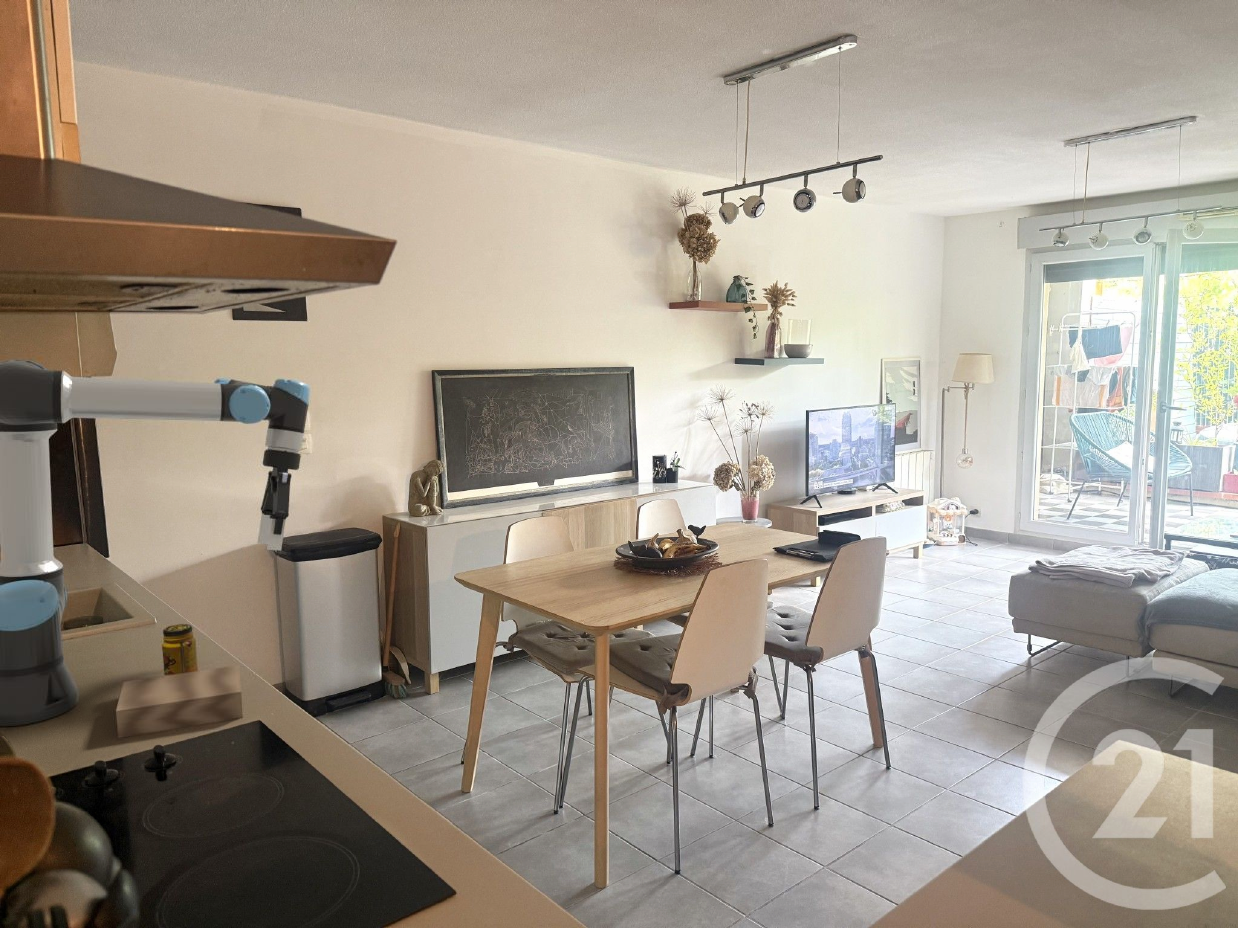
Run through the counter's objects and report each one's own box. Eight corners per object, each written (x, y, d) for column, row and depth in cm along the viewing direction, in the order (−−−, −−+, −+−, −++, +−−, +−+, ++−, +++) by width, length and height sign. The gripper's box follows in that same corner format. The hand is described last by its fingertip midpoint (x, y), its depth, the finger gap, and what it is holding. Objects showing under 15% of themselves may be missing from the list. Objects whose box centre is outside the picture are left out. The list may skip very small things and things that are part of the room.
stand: (118, 737, 152) (115, 710, 151) (125, 706, 164) (123, 681, 164) (242, 717, 160) (241, 691, 159) (240, 689, 173) (239, 665, 172)
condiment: (155, 688, 173) (150, 630, 171) (189, 672, 181) (185, 617, 179) (183, 693, 171) (178, 635, 169) (216, 677, 178) (212, 621, 177)
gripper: (312, 453, 182) (297, 554, 181) (290, 452, 203) (277, 542, 202) (274, 447, 178) (259, 551, 177) (256, 448, 199) (242, 540, 198)
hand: (268, 546), depth 189 cm, fingers open, 13 cm apart
